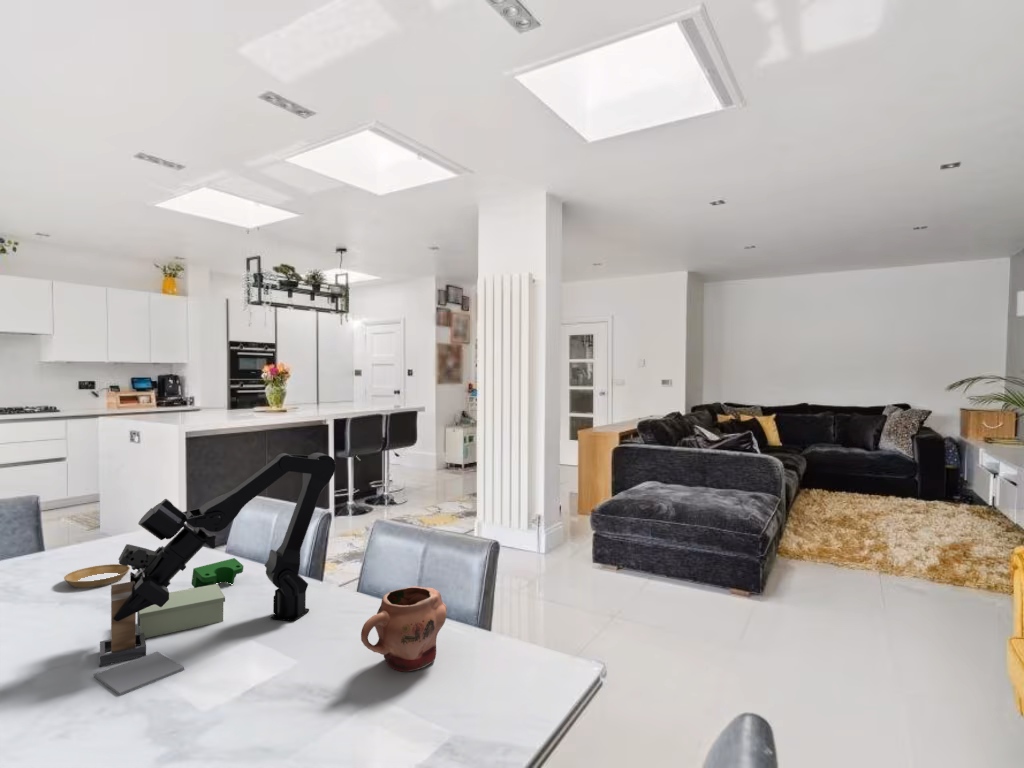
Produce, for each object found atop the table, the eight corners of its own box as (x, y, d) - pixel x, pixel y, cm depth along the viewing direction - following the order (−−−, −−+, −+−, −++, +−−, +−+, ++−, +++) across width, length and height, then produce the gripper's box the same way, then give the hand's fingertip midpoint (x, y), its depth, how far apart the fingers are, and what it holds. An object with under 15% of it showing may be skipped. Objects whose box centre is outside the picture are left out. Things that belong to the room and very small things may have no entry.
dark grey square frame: (143, 641, 120) (143, 632, 120) (146, 655, 114) (146, 646, 114) (99, 651, 115) (99, 641, 115) (99, 666, 109) (99, 656, 109)
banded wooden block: (134, 642, 118) (135, 580, 117) (135, 650, 114) (136, 586, 114) (110, 648, 115) (111, 585, 115) (111, 656, 112) (111, 591, 112)
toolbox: (217, 606, 139) (217, 583, 139) (224, 621, 131) (225, 597, 130) (136, 622, 129) (136, 598, 129) (138, 640, 121) (139, 614, 121)
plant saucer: (72, 576, 159) (73, 567, 159) (134, 570, 165) (134, 561, 165) (55, 594, 146) (56, 584, 146) (123, 586, 152) (123, 577, 152)
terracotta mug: (386, 697, 100) (387, 619, 100) (343, 675, 107) (344, 602, 107) (461, 654, 116) (461, 587, 116) (419, 637, 123) (420, 574, 123)
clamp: (207, 607, 149) (197, 582, 145) (196, 596, 153) (186, 572, 148) (249, 579, 157) (241, 555, 153) (238, 570, 161) (230, 546, 157)
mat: (157, 653, 115) (157, 651, 115) (184, 669, 109) (184, 667, 109) (94, 677, 106) (94, 674, 106) (119, 695, 99) (119, 692, 99)
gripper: (143, 520, 124) (81, 580, 118) (149, 540, 109) (77, 610, 103) (184, 550, 129) (126, 609, 123) (195, 572, 114) (129, 641, 108)
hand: (115, 616), depth 114 cm, fingers closed on banded wooden block, 4 cm apart
